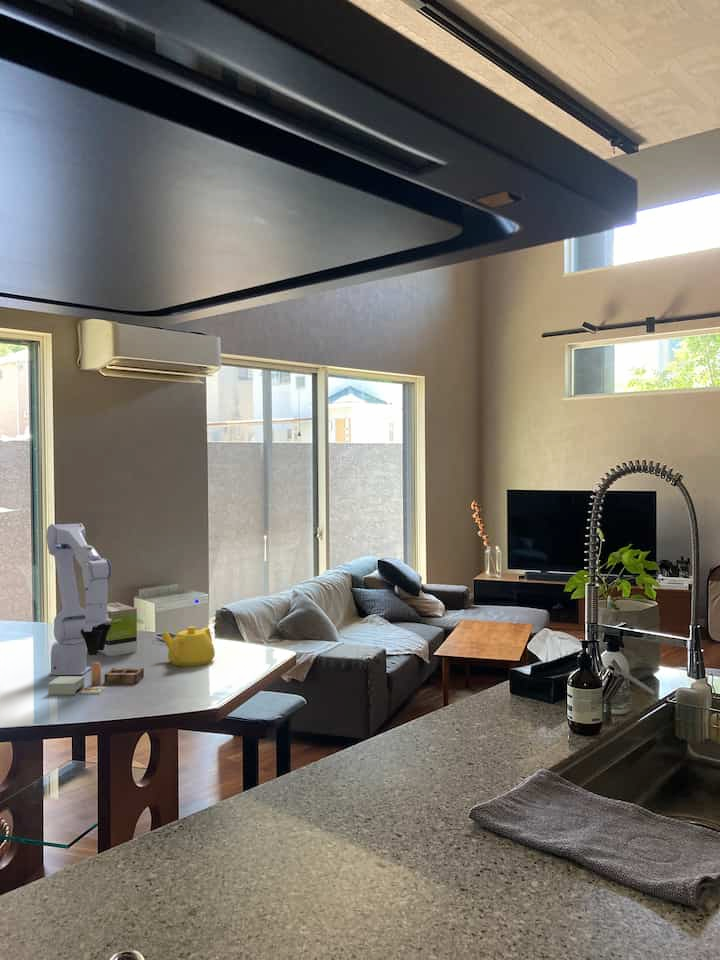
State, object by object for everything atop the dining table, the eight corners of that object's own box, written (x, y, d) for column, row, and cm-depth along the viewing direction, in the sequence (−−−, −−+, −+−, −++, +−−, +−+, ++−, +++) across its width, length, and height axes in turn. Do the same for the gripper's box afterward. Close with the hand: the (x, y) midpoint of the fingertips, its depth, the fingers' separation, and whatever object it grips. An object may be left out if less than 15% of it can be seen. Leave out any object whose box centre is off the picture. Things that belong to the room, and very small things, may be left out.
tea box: (89, 648, 253) (89, 604, 253) (118, 644, 259) (118, 601, 259) (108, 657, 242) (108, 610, 241) (137, 652, 248) (138, 607, 248)
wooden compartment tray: (104, 683, 211) (104, 674, 211) (112, 676, 218) (112, 668, 218) (136, 683, 211) (136, 674, 211) (143, 677, 218) (143, 668, 218)
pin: (90, 685, 208) (90, 664, 208) (93, 683, 211) (93, 661, 211) (98, 685, 208) (99, 664, 208) (101, 683, 211) (101, 661, 211)
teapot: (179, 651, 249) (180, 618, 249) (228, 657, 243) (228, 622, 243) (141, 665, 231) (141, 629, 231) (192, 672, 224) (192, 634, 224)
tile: (80, 693, 201) (80, 691, 201) (87, 688, 206) (87, 685, 206) (99, 693, 201) (99, 691, 201) (105, 688, 206) (105, 686, 206)
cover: (48, 694, 200) (48, 683, 199) (58, 687, 206) (58, 676, 206) (75, 694, 200) (75, 683, 200) (84, 687, 207) (84, 676, 207)
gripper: (102, 608, 202) (102, 658, 202) (119, 599, 217) (118, 646, 217) (75, 607, 202) (75, 658, 202) (94, 599, 217) (94, 646, 217)
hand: (96, 652), depth 210 cm, fingers open, 5 cm apart
